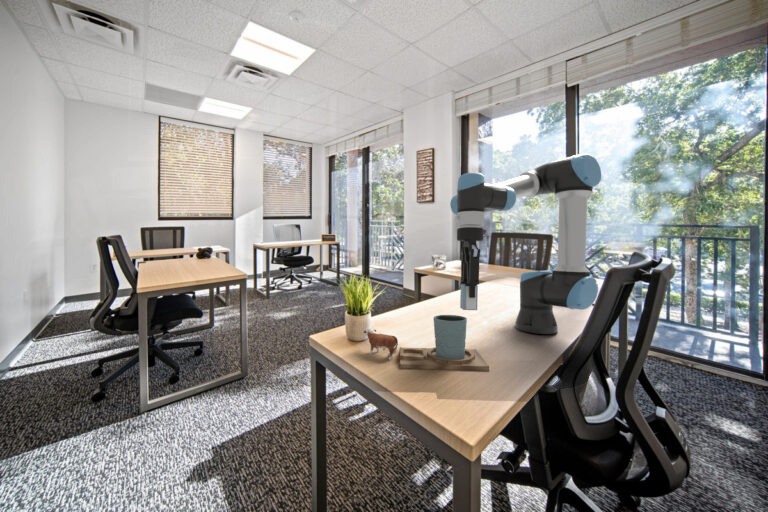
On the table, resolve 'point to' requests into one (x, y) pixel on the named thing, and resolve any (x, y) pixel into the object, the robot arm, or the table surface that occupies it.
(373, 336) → the bull figurine
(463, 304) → the block
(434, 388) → the table surface
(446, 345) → the teal cup
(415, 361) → the jig
